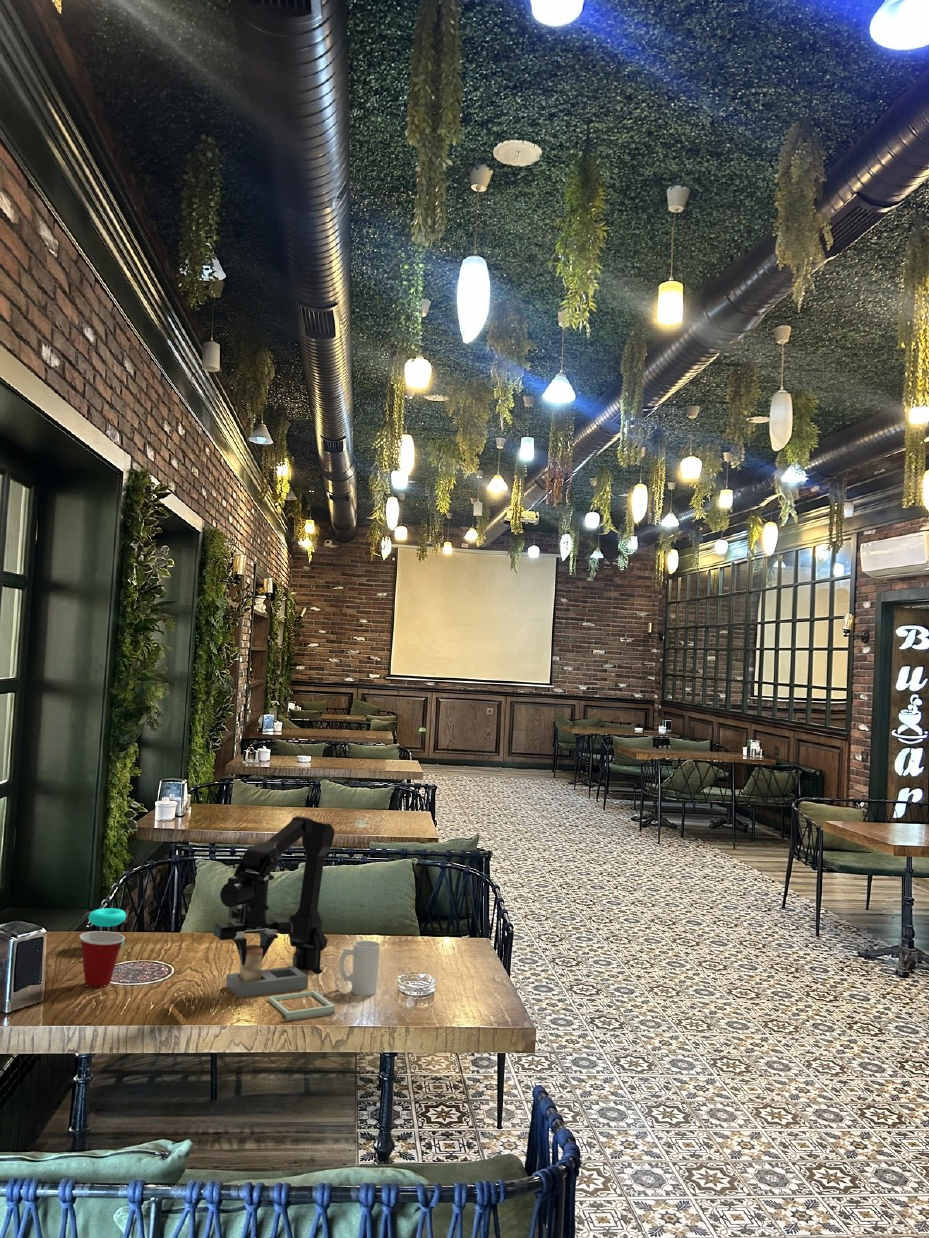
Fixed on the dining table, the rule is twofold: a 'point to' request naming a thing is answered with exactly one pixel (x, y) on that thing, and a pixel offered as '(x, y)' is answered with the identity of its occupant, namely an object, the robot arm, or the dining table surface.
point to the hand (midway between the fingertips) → (251, 963)
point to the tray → (304, 1012)
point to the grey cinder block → (268, 982)
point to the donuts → (107, 917)
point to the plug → (252, 964)
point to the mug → (362, 967)
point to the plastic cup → (100, 956)
